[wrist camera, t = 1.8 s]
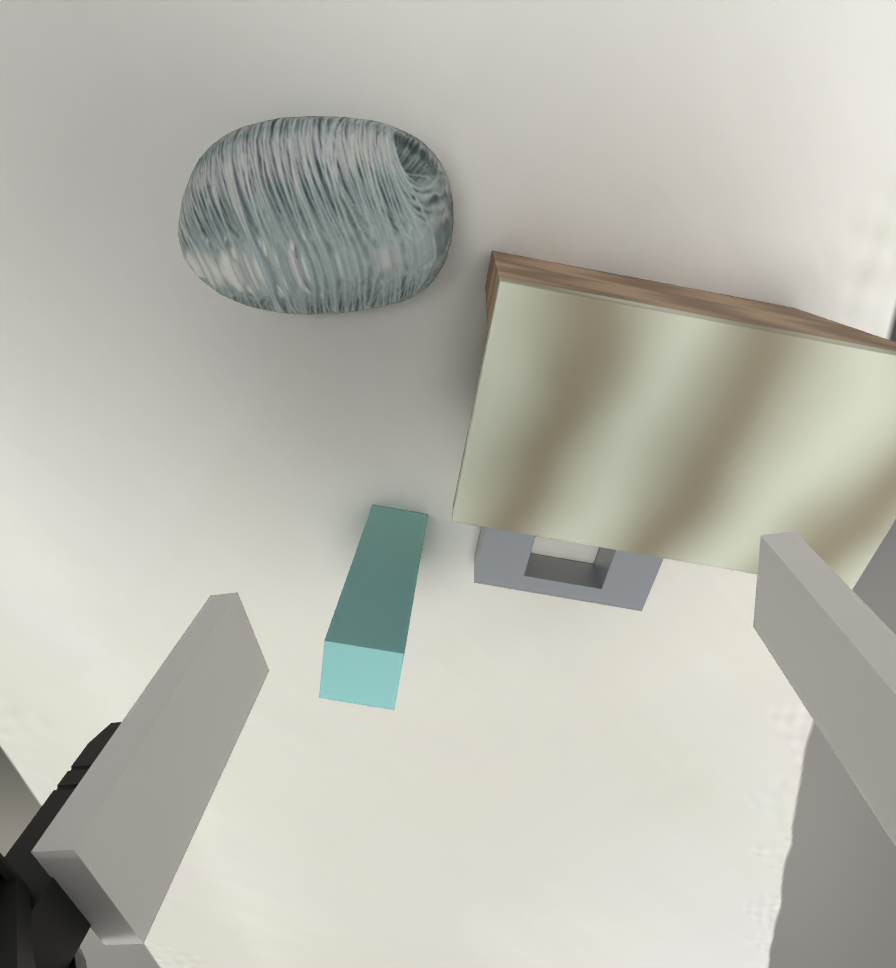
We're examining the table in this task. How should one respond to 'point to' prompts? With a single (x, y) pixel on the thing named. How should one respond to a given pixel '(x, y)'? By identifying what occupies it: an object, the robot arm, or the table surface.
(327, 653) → the peg
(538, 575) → the socket
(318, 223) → the grey yarn spool
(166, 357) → the table surface
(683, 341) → the wood grain block
